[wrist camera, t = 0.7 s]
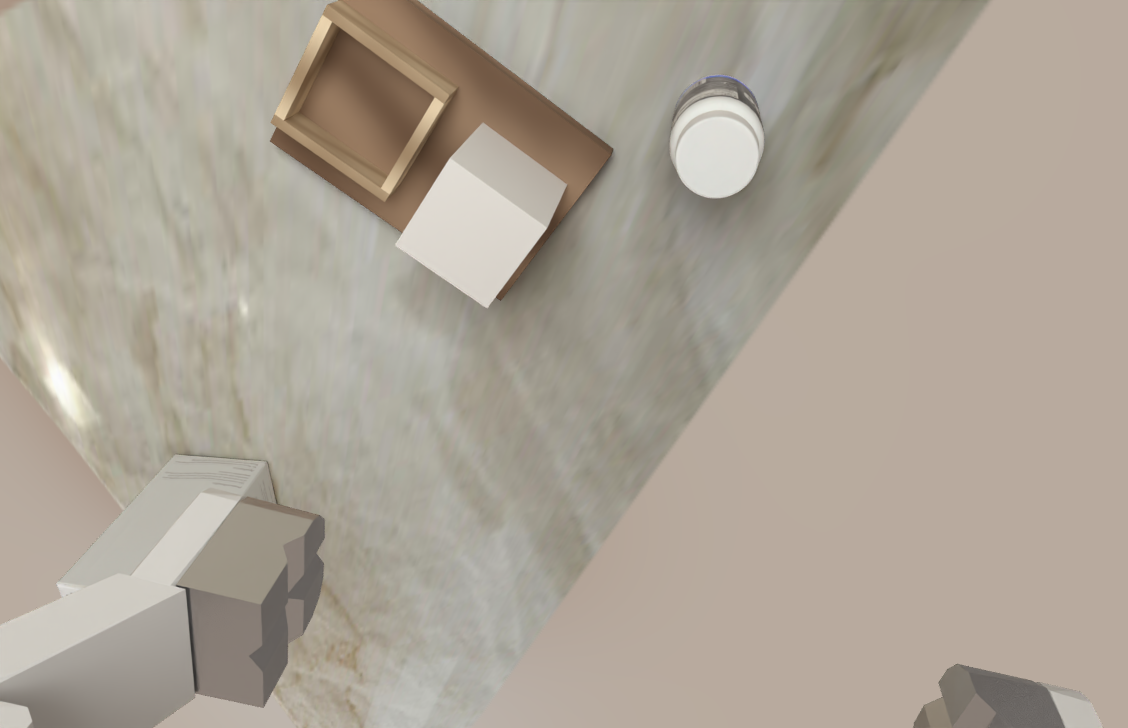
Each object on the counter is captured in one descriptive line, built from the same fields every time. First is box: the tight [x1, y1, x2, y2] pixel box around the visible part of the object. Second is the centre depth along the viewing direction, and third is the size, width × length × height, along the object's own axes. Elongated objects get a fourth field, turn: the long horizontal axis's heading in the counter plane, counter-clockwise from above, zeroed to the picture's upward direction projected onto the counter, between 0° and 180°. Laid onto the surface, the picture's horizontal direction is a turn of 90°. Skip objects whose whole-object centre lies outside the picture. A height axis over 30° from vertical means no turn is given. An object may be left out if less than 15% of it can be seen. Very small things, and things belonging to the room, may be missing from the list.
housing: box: [395, 123, 567, 308], centre depth 46 cm, size 6×6×7 cm
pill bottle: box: [669, 75, 764, 198], centre depth 42 cm, size 5×5×8 cm
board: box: [270, 0, 613, 301], centre depth 47 cm, size 12×17×5 cm
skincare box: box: [56, 454, 277, 597], centre depth 60 cm, size 8×6×15 cm
